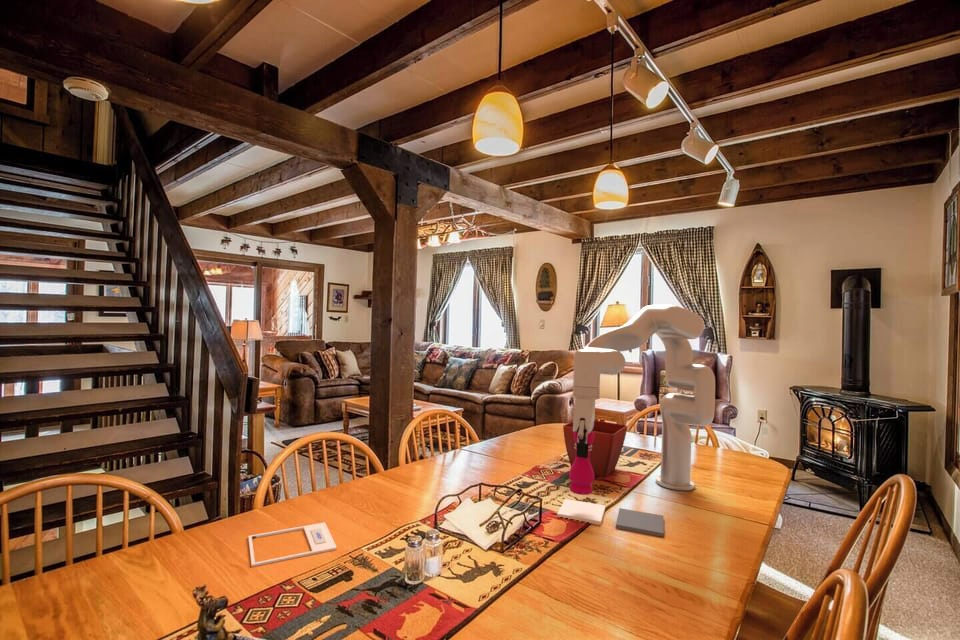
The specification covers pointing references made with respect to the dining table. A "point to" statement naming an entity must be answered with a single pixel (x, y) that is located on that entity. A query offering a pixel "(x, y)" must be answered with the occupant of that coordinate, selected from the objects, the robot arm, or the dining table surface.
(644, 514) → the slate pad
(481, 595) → the dining table surface
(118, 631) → the dining table surface
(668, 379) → the robot arm
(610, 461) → the plant pot
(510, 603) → the dining table surface
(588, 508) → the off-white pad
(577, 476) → the pepper mill
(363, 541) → the dining table surface
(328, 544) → the photo frame
